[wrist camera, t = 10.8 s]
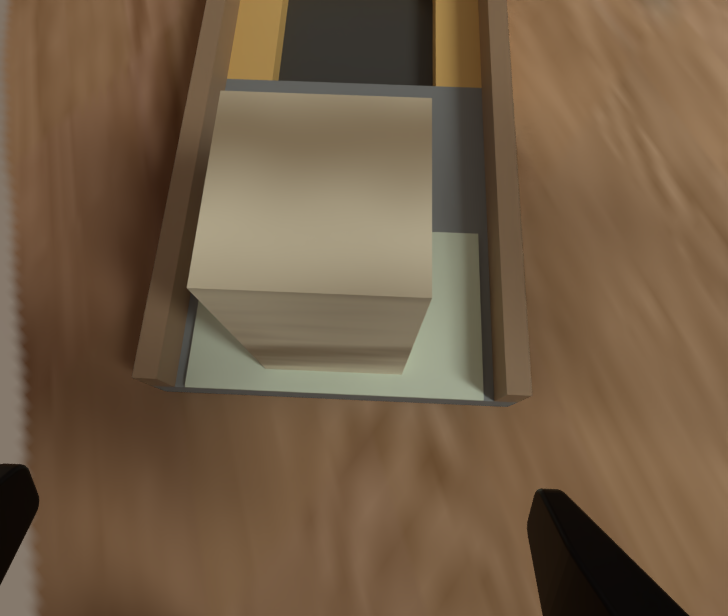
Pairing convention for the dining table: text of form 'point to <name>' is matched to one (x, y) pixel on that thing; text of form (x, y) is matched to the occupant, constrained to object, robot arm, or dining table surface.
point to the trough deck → (449, 193)
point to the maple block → (318, 228)
